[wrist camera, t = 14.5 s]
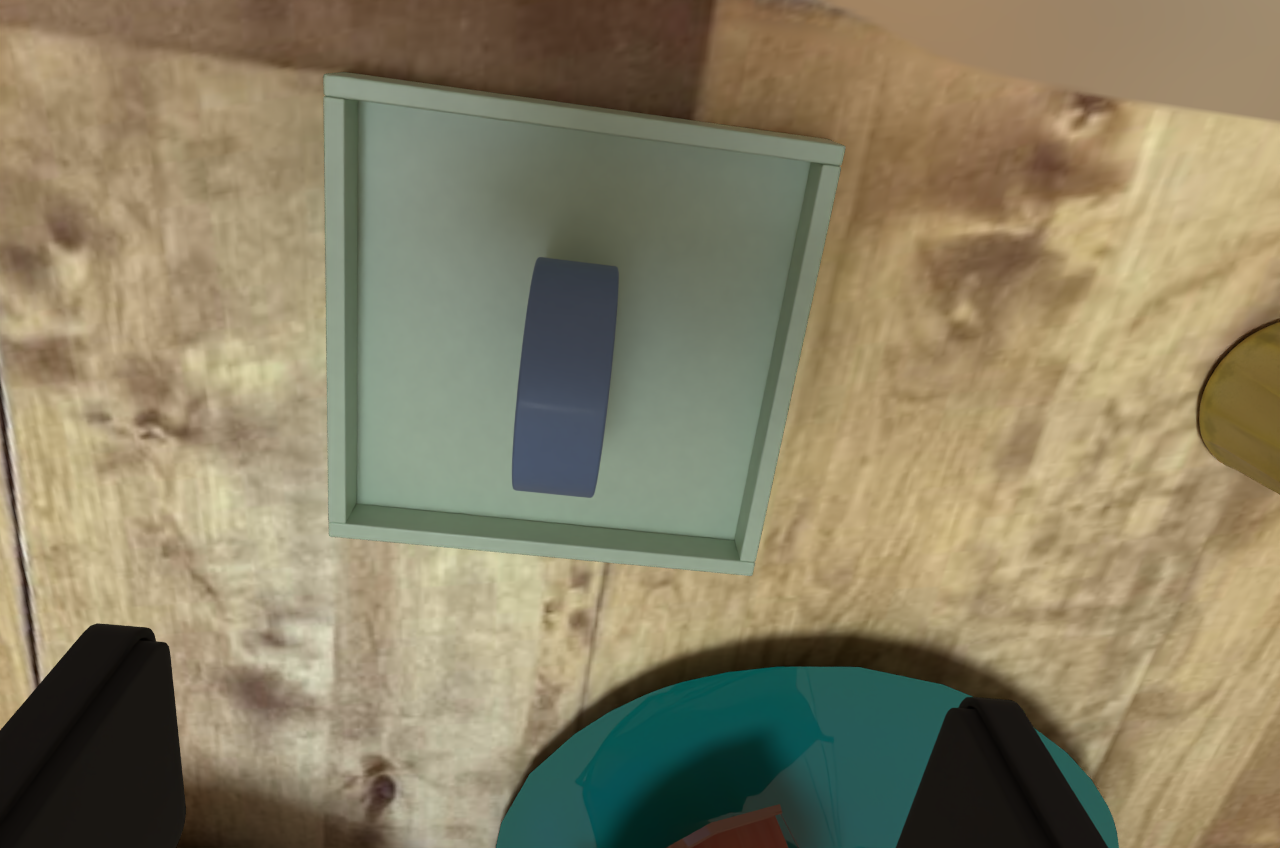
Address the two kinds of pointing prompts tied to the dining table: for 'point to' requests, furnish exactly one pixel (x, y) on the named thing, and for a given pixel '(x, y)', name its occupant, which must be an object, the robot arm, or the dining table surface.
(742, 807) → the boat on round base
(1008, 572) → the dining table surface
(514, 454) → the disc
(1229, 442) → the vase
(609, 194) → the tray
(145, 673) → the robot arm
